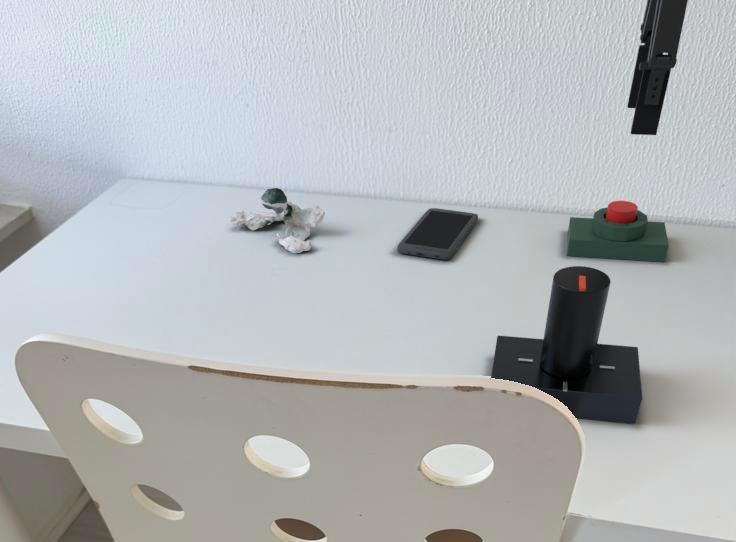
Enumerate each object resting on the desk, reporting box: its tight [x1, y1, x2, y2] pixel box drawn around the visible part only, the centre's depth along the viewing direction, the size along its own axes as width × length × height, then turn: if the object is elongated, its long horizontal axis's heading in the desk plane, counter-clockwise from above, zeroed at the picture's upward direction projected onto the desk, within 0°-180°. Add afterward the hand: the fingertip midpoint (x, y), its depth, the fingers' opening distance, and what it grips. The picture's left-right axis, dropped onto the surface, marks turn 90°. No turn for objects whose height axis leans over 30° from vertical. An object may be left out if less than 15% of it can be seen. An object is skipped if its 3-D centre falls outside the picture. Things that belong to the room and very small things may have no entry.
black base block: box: [490, 335, 643, 425], centre depth 76 cm, size 14×9×3 cm, turn 78°
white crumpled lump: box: [228, 187, 326, 255], centre depth 105 cm, size 15×8×8 cm
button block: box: [566, 206, 669, 263], centre depth 99 cm, size 12×7×4 cm, turn 78°
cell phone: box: [397, 207, 479, 261], centre depth 104 cm, size 7×14×1 cm, turn 157°
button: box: [606, 200, 639, 224], centre depth 97 cm, size 4×4×2 cm
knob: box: [540, 265, 611, 378], centre depth 72 cm, size 5×5×9 cm
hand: (641, 119), depth 89 cm, fingers open, 9 cm apart
